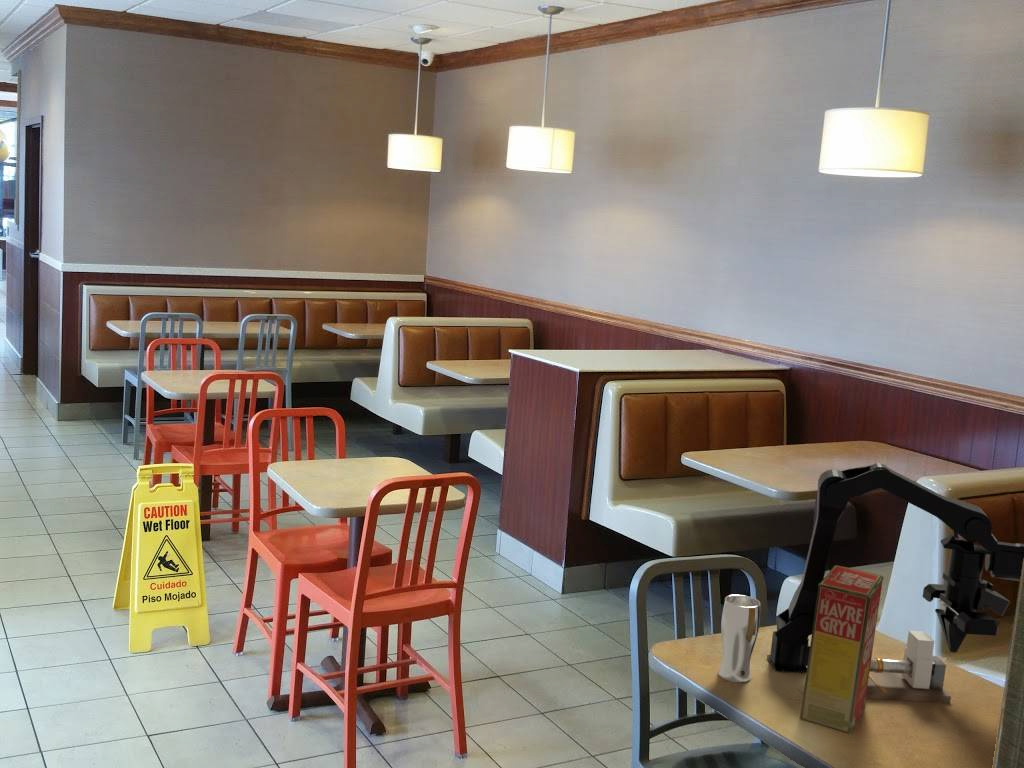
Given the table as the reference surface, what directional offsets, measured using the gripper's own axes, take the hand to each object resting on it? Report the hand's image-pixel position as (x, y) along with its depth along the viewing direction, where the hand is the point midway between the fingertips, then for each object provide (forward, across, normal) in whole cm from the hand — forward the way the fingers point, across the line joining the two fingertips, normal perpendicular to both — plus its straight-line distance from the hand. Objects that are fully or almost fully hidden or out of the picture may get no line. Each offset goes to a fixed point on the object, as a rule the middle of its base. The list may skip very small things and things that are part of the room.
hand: (952, 651), depth 194 cm
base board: (+8, 0, +10) cm, 13 cm away
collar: (+6, 0, +6) cm, 9 cm away
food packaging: (+8, -11, +26) cm, 29 cm away
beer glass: (+8, +2, +40) cm, 41 cm away
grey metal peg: (+7, 0, +10) cm, 12 cm away
